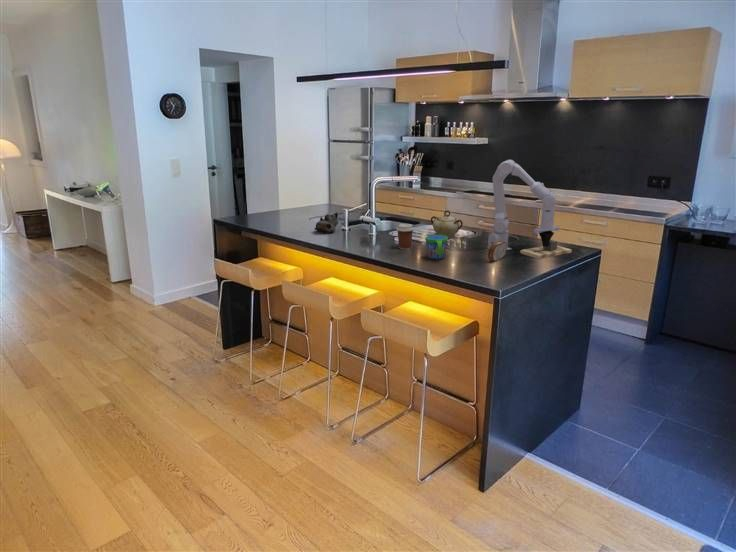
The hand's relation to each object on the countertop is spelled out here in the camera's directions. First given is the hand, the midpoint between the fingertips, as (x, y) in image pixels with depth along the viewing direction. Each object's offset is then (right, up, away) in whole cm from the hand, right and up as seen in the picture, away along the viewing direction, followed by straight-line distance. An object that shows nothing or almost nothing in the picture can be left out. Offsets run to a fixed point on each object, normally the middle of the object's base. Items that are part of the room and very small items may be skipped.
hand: (545, 246), depth 248 cm
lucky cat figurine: (-111, +12, +56) cm, 125 cm away
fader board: (+1, -3, +1) cm, 3 cm away
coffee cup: (-67, 0, +16) cm, 69 cm away
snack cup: (-54, -6, -3) cm, 54 cm away
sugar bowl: (-43, +7, +38) cm, 58 cm away
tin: (-26, -7, -8) cm, 28 cm away
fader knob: (+3, -1, +2) cm, 4 cm away
